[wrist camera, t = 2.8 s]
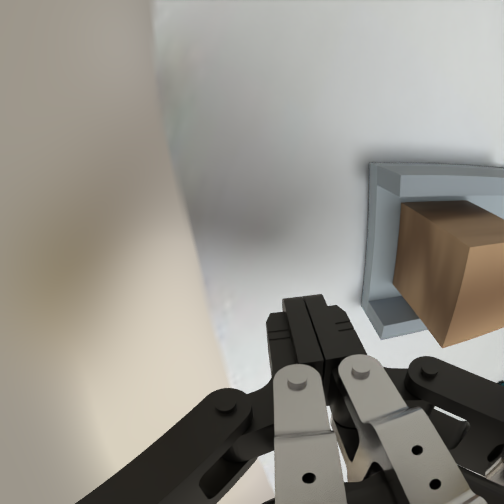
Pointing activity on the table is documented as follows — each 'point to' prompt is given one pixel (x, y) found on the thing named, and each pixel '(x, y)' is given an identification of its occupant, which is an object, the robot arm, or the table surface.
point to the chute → (388, 220)
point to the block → (451, 268)
